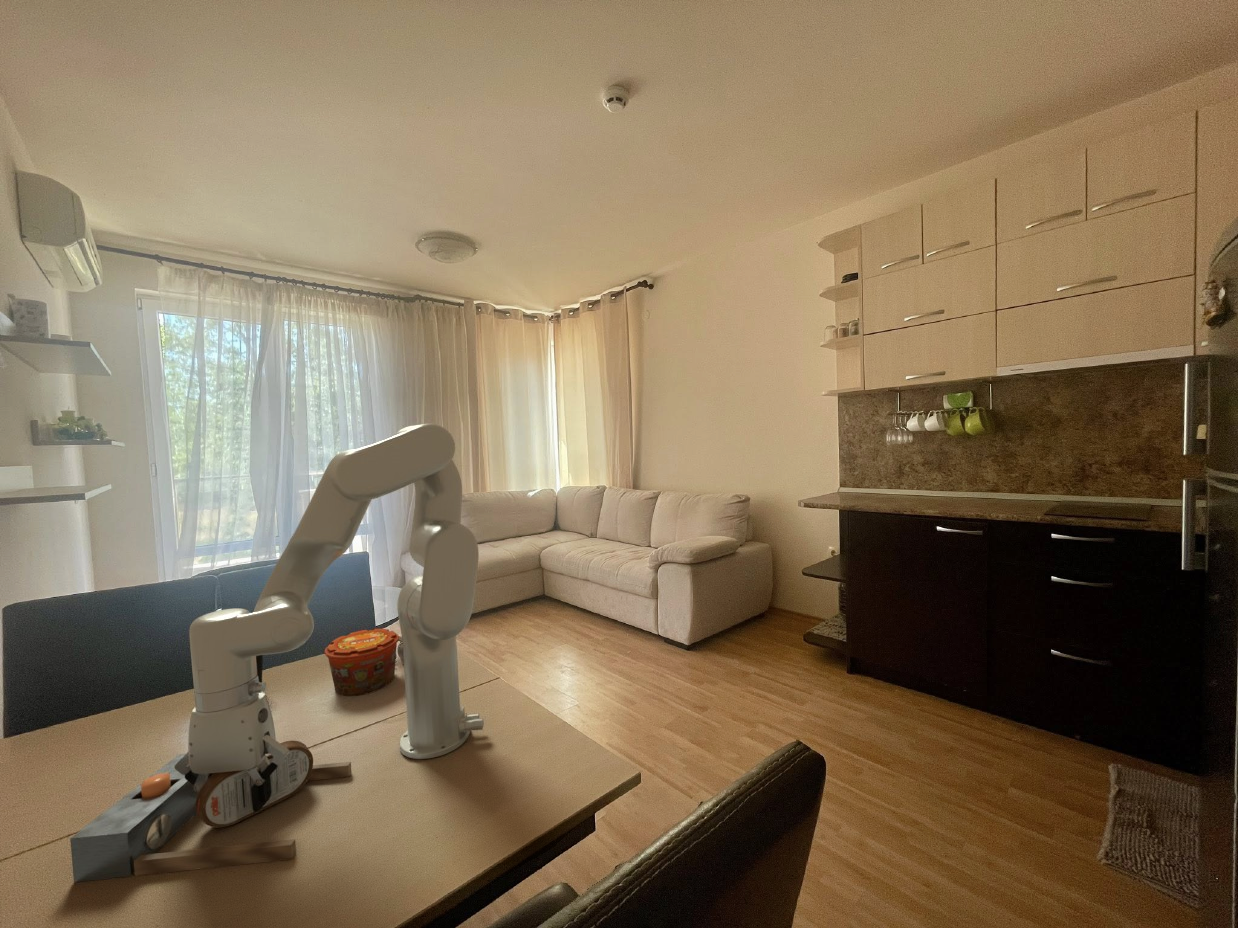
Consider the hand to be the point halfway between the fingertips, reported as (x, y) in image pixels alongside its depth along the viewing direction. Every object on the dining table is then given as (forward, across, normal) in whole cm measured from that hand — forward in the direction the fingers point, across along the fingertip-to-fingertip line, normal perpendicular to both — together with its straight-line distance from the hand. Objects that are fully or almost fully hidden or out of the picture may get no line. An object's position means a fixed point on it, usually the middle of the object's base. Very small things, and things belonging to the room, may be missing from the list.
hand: (236, 806), depth 76 cm
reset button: (-1, +11, 0) cm, 11 cm away
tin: (+2, -2, -2) cm, 4 cm away
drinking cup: (+2, +25, -43) cm, 50 cm away
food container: (+2, -1, -44) cm, 44 cm away
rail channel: (+2, -3, 0) cm, 3 cm away
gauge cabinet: (+2, +11, 0) cm, 11 cm away
